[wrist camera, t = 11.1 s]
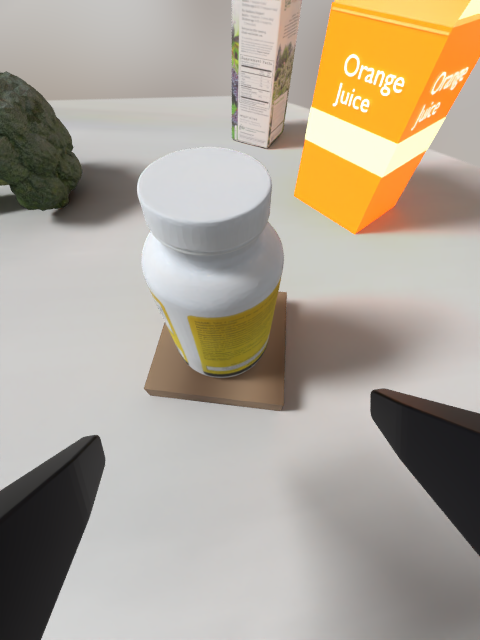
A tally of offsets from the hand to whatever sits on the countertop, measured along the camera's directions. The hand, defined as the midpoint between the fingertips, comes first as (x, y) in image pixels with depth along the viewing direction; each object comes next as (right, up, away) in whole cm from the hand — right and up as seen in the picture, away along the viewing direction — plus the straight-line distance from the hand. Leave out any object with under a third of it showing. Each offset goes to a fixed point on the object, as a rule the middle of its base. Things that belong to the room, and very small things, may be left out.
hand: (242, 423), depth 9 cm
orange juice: (+12, +17, +22) cm, 30 cm away
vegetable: (-24, +17, +21) cm, 36 cm away
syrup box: (+3, +30, +30) cm, 42 cm away
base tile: (-1, +1, +12) cm, 12 cm away
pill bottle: (-1, +2, +10) cm, 11 cm away
